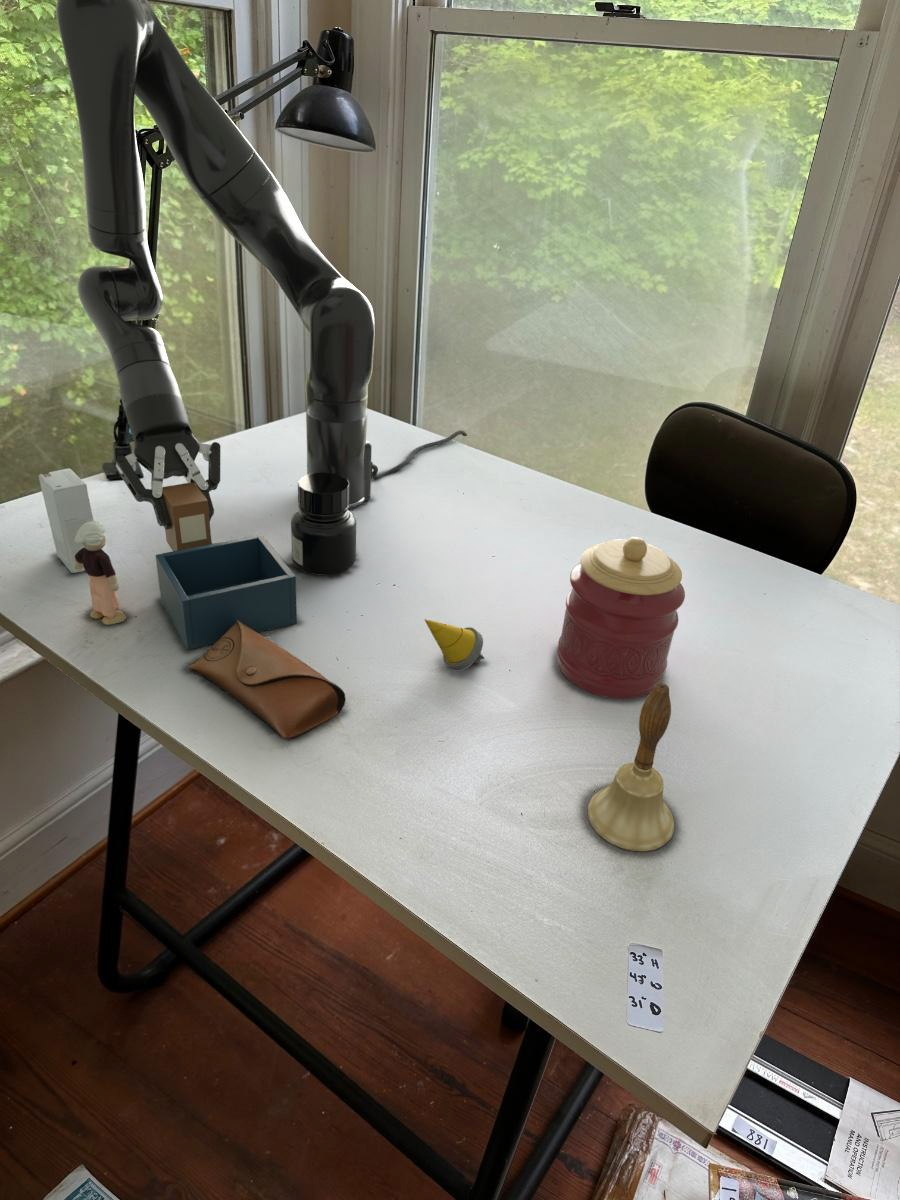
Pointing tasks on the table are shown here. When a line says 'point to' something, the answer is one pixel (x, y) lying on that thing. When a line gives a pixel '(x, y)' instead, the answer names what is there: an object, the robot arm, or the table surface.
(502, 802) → the table surface
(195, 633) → the open storage box
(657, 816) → the hand bell
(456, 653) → the yellow spinning top
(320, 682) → the sunglasses case
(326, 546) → the ink bottle
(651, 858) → the table surface
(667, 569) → the kitchen canister
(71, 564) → the cosmetic box
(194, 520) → the brown packet
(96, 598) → the grandmother figurine
